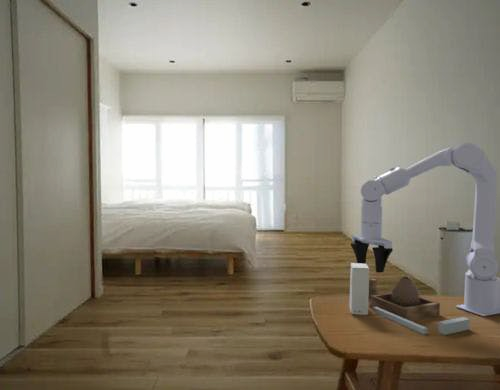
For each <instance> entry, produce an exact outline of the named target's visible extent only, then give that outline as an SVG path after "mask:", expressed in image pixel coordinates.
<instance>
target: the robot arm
mask: <svg viewBox="0 0 500 390" xmlns="http://www.w3.org/2000/svg"><path fill="white" fill-rule="evenodd" d="M451 166H453V167H456V168H457V169H460V170H462V171H464V172H466V173H467V174H468V175H469V176H471V178H473V179H474V180H475V189H474V204H473V206H474V207H473V219H472V220H473V221H472V223H473V224H472V237H471V242H470V249H469V252H468V253H467V255H466V256H465V263H466V265H467V267H468V268H469V269H468V270H467V271H466V272H465V274H464V275H465V276H464V298H463V299H464V300H463V304H457V305H456V308H458V309H460V310H463V311H467V312H469V313H472V314H475V315H478V316H481V317H488V316H493V315H498V314H500V277H498V276H497V273H498V271H499V263H498V262H497V259H496V255H495V254H496V253H495V252H496V249H495V244H494V236H495V235H494V233H495V222H496V221H495V217H496V206H497V205H496V204H497V202H496V201H497V190H498V189H497V188H498V171H497V169H496V168H495V167H494V165H493V164H492V162H491V161H490V159H489V158H488V156H487V155H486V152H485V150H483V149H482V148H480V147H479V146H477V145H476V144H474V143H472V142H463V143H460V144H458V145H457V146H452V147H448V148H445V149H443V150H441V151H437V152H436V153H434V154H431V155H430V156H428V157H426V158H423V159H422V160H420V161H418V162H416V163H414V164H413V165H409V167H406V168H403V167H400V166H398V167H394V166H392V167H390V168H389V171H387V172H385V173H383V174H381V175H379V176H378V175H375V176H374V177H373V179H374V180H373V179H369V180H366V182H364V183H363V184H362V186H361V189H360V194H361V196H362V199H361V211H360V214H361V215H360V234H358V233H355V234H351V241H352V242H350V247H351V248H352V251H353V253H354V255H355V259H356V263H362V264H367V253H368V249H369V246H370V245H372V246H373V247H371V248H372V252H373V255H374V260H375V272H376V273H380V274H381V273H384V272H385V267H386V264H387V262H388V259H389V257H390V255H391V254H392V252H393V241H392V240H389V239H387V238H383V237H382V235H383V233H382V231H383V230H382V229H383V207H382V197H383V195H385V196H387V195H390V194H392V193H394V192H397V191H399V190H401V189H403V188H405V187H407V186H409V184H410V181H411V179H413V178H415V177H417V176H419V175H421V174H423V173H427V172H429V171H430V170H433V169H435V168H437V167H451ZM374 246H375V247H374Z"/></svg>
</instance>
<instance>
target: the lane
mask: <svg viewBox="0 0 500 390" xmlns="http://www.w3.org/2000/svg"><path fill="white" fill-rule="evenodd" d="M372 312H373V313H374V314H377V315H378V316H382V317H384V318H386V319H389V320H390V321H393V322H394V323H397V324H399V325H402V326H404V327H406V328H409V329H410V330H413V331H415V332H417V333H419V334H422V335H427V334H428V327H427V326H423V325H421V324H418V323H417V322H414V321H413V320H410V321H409V320H407V319H405V318H402V317H400V316H398V315H395V314H393V313H390V312H388V311H386V310H383V309H381V308H379V307H373V308H372ZM469 330H470V318H467V317H464V316H462V317H455V318H450V319H447V320H446V319H445V320H441V321H438V333H440V334H441V335H443V336H446V335H450V334H455V333H459V332H464V331H469Z"/></svg>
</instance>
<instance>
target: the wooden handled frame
mask: <svg viewBox="0 0 500 390" xmlns="http://www.w3.org/2000/svg"><path fill="white" fill-rule="evenodd" d="M377 285H378V280H377V279H376V278H369V298H368V299H369V307H370V308H371V309H373V307H379V308H381V309H383V310H386V311H388V312H390V313H393V314H395V315H398V316H400V317H402V318H405V319H407V320H409V321H415V320H420V319H424V318H431V317H437V316H440V311H441V309H440V308H441V304H440V302H437V301H434V300H431V299H428V298H426V297H422V296H420V302H419V305H417V306H411V307H405V308H404V307H402V306H399V305H397V304H394V303H392V300H391V294H392V292H387V293H381V292H378V290H377V287H378V286H377Z"/></svg>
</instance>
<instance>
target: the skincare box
mask: <svg viewBox="0 0 500 390" xmlns="http://www.w3.org/2000/svg"><path fill="white" fill-rule="evenodd" d="M349 273H350V277H349V278H350V279H349V302H348V303H349V305H348V307H349V310H350V314H351V315H361V316H368V315H369V299H370V298H369V279H370V267H369V266H368V264H367V263H366V264H362V263H357V262H350V272H349Z"/></svg>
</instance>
